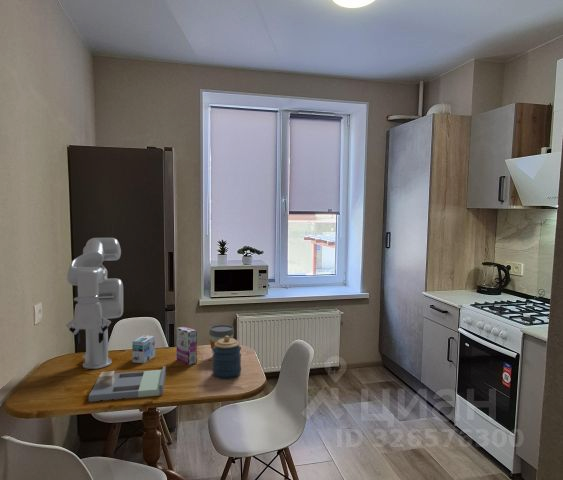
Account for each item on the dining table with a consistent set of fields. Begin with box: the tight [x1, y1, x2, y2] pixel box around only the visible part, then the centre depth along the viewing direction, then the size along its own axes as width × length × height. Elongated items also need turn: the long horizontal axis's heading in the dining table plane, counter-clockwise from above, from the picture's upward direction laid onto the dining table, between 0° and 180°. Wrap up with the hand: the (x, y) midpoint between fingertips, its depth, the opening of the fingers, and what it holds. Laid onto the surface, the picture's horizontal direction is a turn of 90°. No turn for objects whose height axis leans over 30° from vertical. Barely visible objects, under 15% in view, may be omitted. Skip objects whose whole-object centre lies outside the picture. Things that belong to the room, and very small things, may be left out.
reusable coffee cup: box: [209, 324, 235, 355], centre depth 197 cm, size 13×13×15 cm
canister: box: [211, 336, 242, 380], centre depth 176 cm, size 13×13×18 cm
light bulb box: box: [131, 334, 156, 364], centre depth 193 cm, size 11×7×11 cm, turn 168°
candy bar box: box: [176, 326, 198, 366], centre depth 191 cm, size 11×5×16 cm, turn 47°
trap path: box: [88, 365, 167, 402], centre depth 162 cm, size 27×20×4 cm
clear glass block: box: [98, 370, 115, 386], centre depth 159 cm, size 5×5×4 cm
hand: (89, 342), depth 157 cm, fingers open, 7 cm apart
